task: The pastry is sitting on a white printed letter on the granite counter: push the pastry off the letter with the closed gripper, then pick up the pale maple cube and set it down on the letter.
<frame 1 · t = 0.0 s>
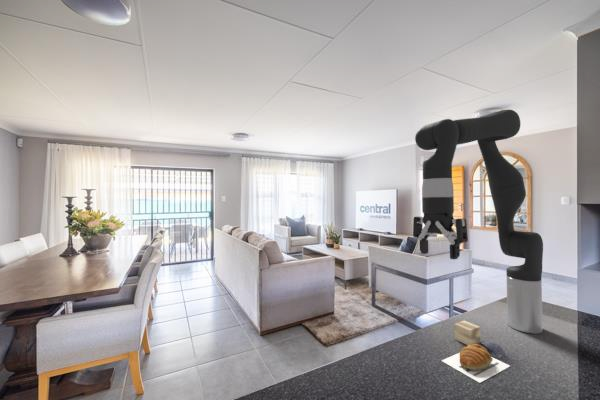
hand: (438, 256, 70), 29 cm above the counter, fingers open, 8 cm apart
maple cube: (467, 341, 82), on the counter
pastry: (475, 363, 71), resting on letter
letter: (475, 363, 71), on the counter
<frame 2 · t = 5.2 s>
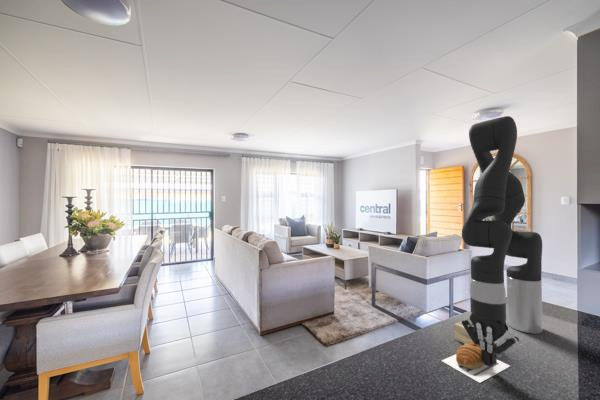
hand: (489, 364, 67), 2 cm above the counter, fingers closed
pastry: (471, 362, 71), resting on letter, touching gripper
everything else where it was.
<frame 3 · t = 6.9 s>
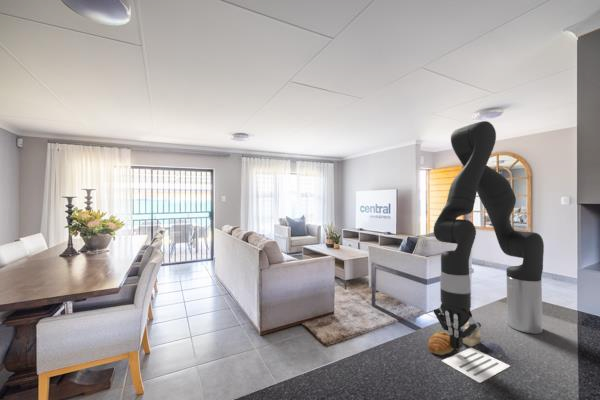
hand: (456, 348, 75), 2 cm above the counter, fingers closed
pastry: (441, 349, 79), on the counter, touching gripper
everything else where it was.
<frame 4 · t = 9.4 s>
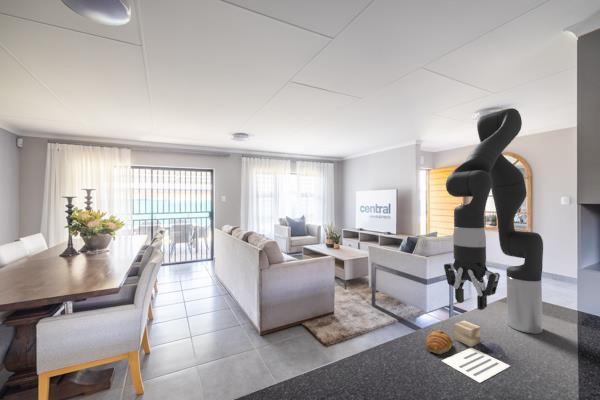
hand: (470, 305, 72), 15 cm above the counter, fingers open, 5 cm apart
pastry: (439, 348, 79), on the counter
everything else where it was.
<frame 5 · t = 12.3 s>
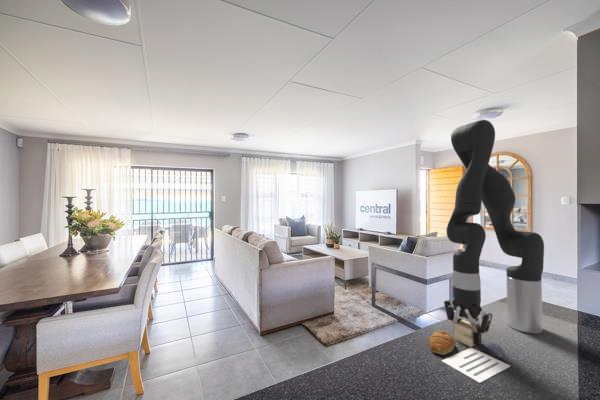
hand: (467, 339, 82), 0 cm above the counter, fingers closed on maple cube, 5 cm apart
maple cube: (467, 340, 82), on the counter, touching gripper
everything else where it was.
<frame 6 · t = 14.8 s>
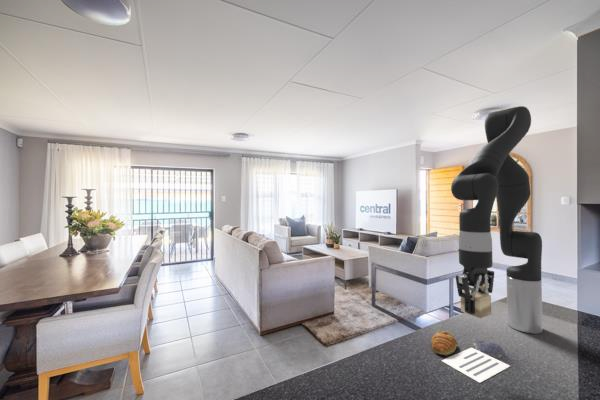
hand: (476, 310, 70), 14 cm above the counter, fingers closed on maple cube, 5 cm apart
maple cube: (475, 312, 70), point 14 cm above the counter, touching gripper
when the fingers open (2 cm above the counter, at t = 17.4 s): maple cube drops 1 cm, resting on letter.
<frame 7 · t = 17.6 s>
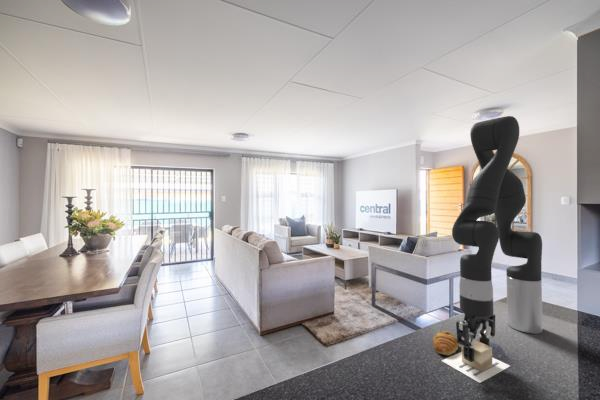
hand: (477, 356, 70), 2 cm above the counter, fingers open, 6 cm apart
maple cube: (476, 363, 70), resting on letter
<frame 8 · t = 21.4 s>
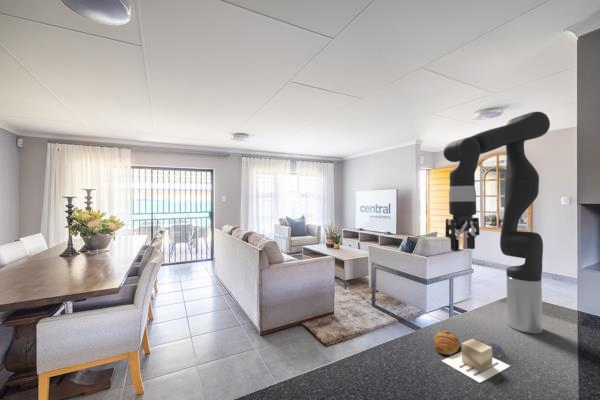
hand: (463, 249, 85), 28 cm above the counter, fingers open, 8 cm apart
at the end: pastry inside the target area on the counter beside the letter (9.4 cm from its centre), on the counter; maple cube inside the target area on the letter (0.4 cm from its centre), point 0.1 cm above the letter's base; maple cube tilted 0° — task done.
